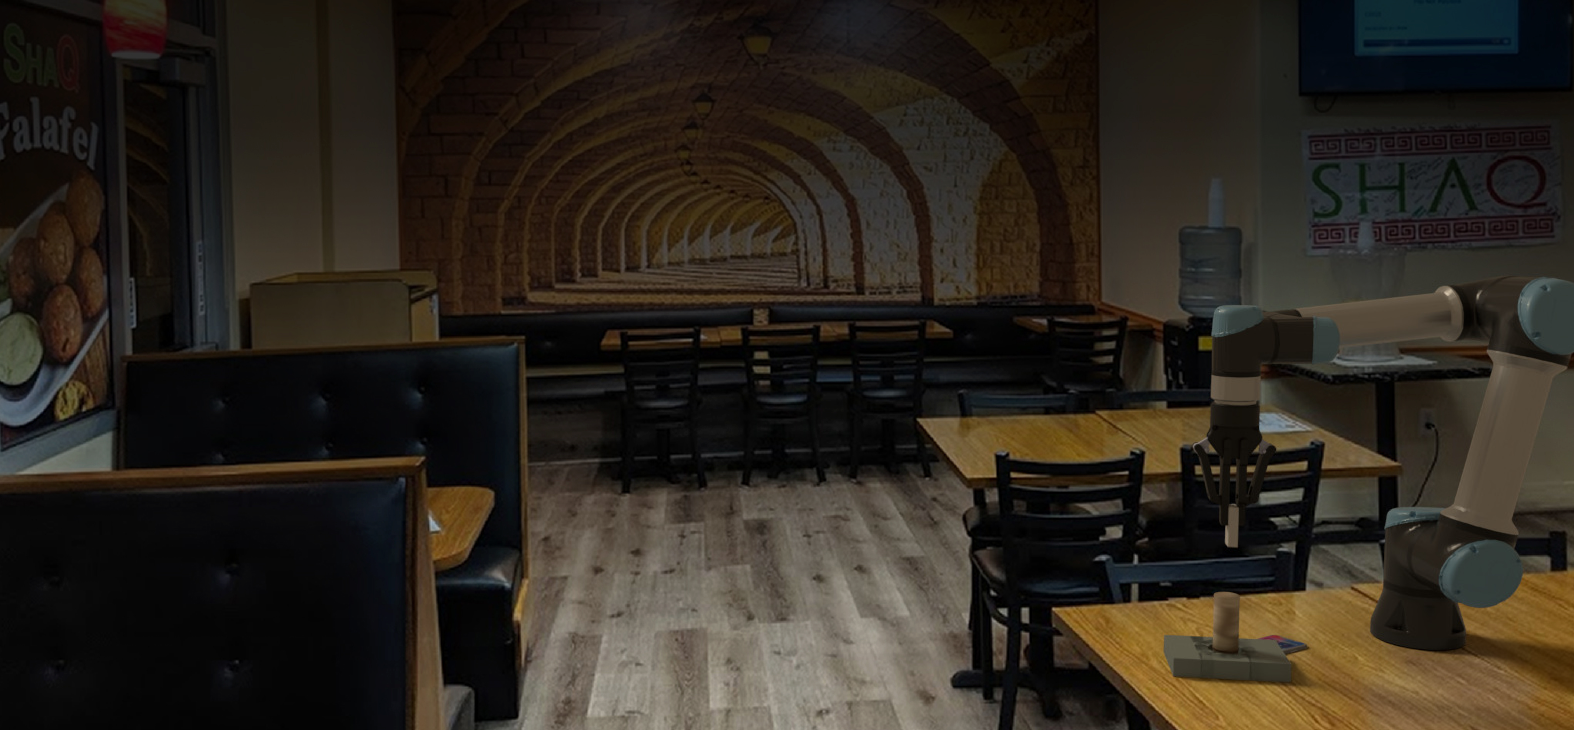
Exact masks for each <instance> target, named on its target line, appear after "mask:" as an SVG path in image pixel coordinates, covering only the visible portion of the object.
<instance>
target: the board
mask: <svg viewBox="0 0 1574 730" xmlns="http://www.w3.org/2000/svg"><path fill="white" fill-rule="evenodd" d="M1212 645H1213V636H1197V635H1194V636H1193V635H1178V634H1173V635H1172V634H1163V654H1164V657H1165V659H1166V662H1167V664H1168V668H1170V672H1171V674H1172V676H1173V677H1178V678H1179V677H1181V678H1182V677H1183V678H1200V679H1201V678H1202V679H1218V680H1219V679H1220V680H1221V679H1222V680H1240V681H1259V682H1275V683H1276V682H1279V683H1291V681H1292V662H1291V661H1290V659H1289V658H1288V656H1287V654H1284V652H1283V651H1282V649H1281V648H1280V646H1279V645H1278V643H1277V642H1276V640H1266V639H1258V638H1243V637H1239V651H1238V654H1234V655H1231V654H1221V653H1216V652H1213V648H1212Z"/></svg>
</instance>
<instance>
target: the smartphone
mask: <svg viewBox="0 0 1574 730" xmlns="http://www.w3.org/2000/svg"><path fill="white" fill-rule="evenodd" d="M1257 639H1266V640H1276V642H1277V643H1278V645H1279V646H1280V648H1281V649H1282V651H1283V652H1284V654H1285V655H1288V654H1291V653H1296V652H1300V651H1304V650H1306V649H1307V648H1308V644H1307V643H1305V642H1302V641H1298V640H1295V639H1291V638H1289V637H1286V636H1282V635H1277V634H1269V635H1266V636H1263V637H1259V638H1257Z"/></svg>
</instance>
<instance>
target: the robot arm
mask: <svg viewBox="0 0 1574 730" xmlns="http://www.w3.org/2000/svg"><path fill="white" fill-rule="evenodd" d="M1211 328H1212V329H1211V378H1210V379H1211V383H1210V398H1211V399H1212V400H1214V401H1212V402H1211V403H1210V408H1209V409H1210V412H1209V415H1210V416H1209V417H1210V418H1209V429H1208V431H1207V433H1206V437H1205V438H1203V439H1201V440H1200V441H1198V442H1192V445H1191V446H1192V449H1193V450H1194V452H1195V453H1196V454H1197V456H1198V459H1199V464H1200V467H1201V472H1202V477H1203V481H1204V485H1205V490H1206V491H1205V492H1206V494H1207V498H1208V499H1209V500H1210V501H1211V503H1214V504H1216V505H1217V504H1218V505H1219V507H1218V508H1219V509H1218V511H1219V514H1218V517H1219V518H1218V519H1219V520H1218V521H1219V523H1220V525H1221V526H1225V531H1224V533H1225V534H1224V537H1225V538H1224V544H1225V545H1226V546H1227V548H1238V547H1239V546H1238V545H1239V543H1238V542H1239V527H1244V526H1245V524H1246V508H1247V506H1248V505H1251V504H1257V502H1258V501H1259V498H1260V494H1261V491H1262V487H1263V484H1264V481H1265V478H1266V477H1265V476H1266V474H1267V470H1268V466H1269V463H1270V460H1271V459H1272V458H1273V456H1274V455H1275V454H1276V452H1277V447H1276V446H1275V445H1274V444H1272V443H1270V442H1268V441H1266V440H1264V439H1263V434H1262V432H1261V430H1260V421H1261V420H1260V417H1261V415H1260V413H1261V412H1260V411H1261V405H1260V403H1257V401H1260V399H1261V385H1262V384H1261V381H1262V380H1261V378H1262V377H1261V376H1262V365H1273V364H1274V365H1278V364H1279V365H1280V364H1281V365H1311V366H1314V365H1316V364H1328V363H1331V362H1332V361H1334V360H1335V359H1336V357H1337V356H1338V353H1339V350H1340V348H1348V347H1358V346H1359V347H1361V346H1368V345H1376V344H1377V345H1378V344H1387V343H1396V342H1405V341H1413V340H1414V341H1415V340H1421V339H1422V340H1423V339H1433V338H1441V340H1443V341H1445V342H1451V343H1452V342H1459V341H1470V342H1471V341H1475V342H1483V343H1488V345H1487V348H1486V353H1487V355H1488V356H1489V358H1490V359H1491V361H1492V363H1493V366H1492V369H1491V372H1490V377H1489V380H1488V383H1487V386H1486V390H1485V394H1484V398H1483V399H1482V404H1481V408H1480V410H1479V411H1480V412H1479V415H1478V417H1477V418H1478V419H1477V421H1476V424H1475V425H1476V426H1475V429H1474V432H1473V436H1472V439H1471V443H1470V446H1469V449H1468V453H1467V456H1466V460H1465V463H1464V467H1463V470H1462V474H1461V477H1460V481H1459V485H1458V488H1457V491H1456V495H1455V498H1454V501H1453V503H1452V504H1451V505H1450V506H1449V507H1432V506H1431V507H1427V506H1402V507H1395V508H1394V507H1393V508H1392V509H1389V511H1388V512H1387V514H1386V520H1385V525H1384V552H1383V553H1384V555H1383V556H1384V558H1383V577H1382V578H1383V582H1382V591H1381V594H1380V595H1379V598H1378V601H1377V602H1376V605H1375V607H1374V609H1373V612H1372V614H1371V617H1370V621H1369V622H1370V623H1369V625H1370V626H1369V627H1370V628H1369V632H1370V633H1371V635H1372V636H1373V637H1375V638H1376V639H1379V640H1381V641H1384V642H1387V643H1389V644H1391V645H1392V644H1393V645H1397V646H1401V647H1406V648H1411V649H1416V650H1417V649H1418V650H1428V651H1429V650H1431V651H1445V650H1454V649H1459V648H1462V647H1464V646H1465V645H1466V643H1467V628H1466V625H1465V622H1464V619H1463V615H1462V611H1461V608H1460V605H1459V604H1462V605H1465V606H1466V607H1471V608H1476V609H1486V608H1491V607H1495V606H1497V605H1498V604H1500V603H1503V602H1505V601H1507V600H1509V598H1511V597H1512V596H1513V595H1514V594H1515V592H1516V591H1517V589H1518V588H1519V586H1520V585H1521V583H1522V580H1523V575H1524V565H1523V561H1522V560H1521V559H1520V555H1519V553H1518V552H1517V551H1516V550H1515V548H1516V544H1517V540H1518V538H1519V530H1518V529H1517V527H1516V526H1515V524H1514V522H1513V517H1514V512H1515V509H1516V506H1517V502H1518V500H1519V495H1520V491H1521V489H1522V485H1523V482H1524V479H1525V475H1526V471H1527V468H1528V465H1529V460H1530V458H1531V455H1532V451H1533V449H1534V448H1533V447H1534V444H1535V441H1536V437H1537V434H1538V431H1539V426H1540V422H1541V421H1542V420H1541V419H1542V418H1543V417H1542V416H1543V414H1544V410H1545V407H1546V402H1547V400H1548V396H1549V393H1550V389H1551V385H1552V383H1553V379H1554V377H1555V376H1557V375H1559V374H1560V373H1563V372H1564V371H1566V370H1567V369H1568V367H1569V364H1570V360H1571V356H1572V354H1573V353H1574V282H1571V281H1569V280H1565V279H1560V278H1559V279H1558V278H1556V277H1548V276H1541V277H1540V276H1538V277H1537V276H1518V275H1517V276H1516V275H1502V276H1495V277H1494V276H1493V277H1489V278H1484V279H1480V280H1479V279H1477V280H1474V281H1468V282H1463V283H1457V284H1456V283H1455V284H1449V285H1442V286H1439V287H1438V288H1437V289H1436V290H1435V291H1434V292H1431V293H1423V294H1422V293H1421V294H1414V295H1405V296H1396V297H1386V298H1379V299H1377V298H1376V299H1369V300H1362V301H1361V300H1360V301H1352V302H1343V303H1334V304H1326V305H1315V306H1307V307H1298V308H1292V309H1280V310H1273V311H1268V310H1265V309H1263V308H1262V307H1261V306H1258V305H1253V304H1252V305H1251V304H1249V305H1248V304H1246V305H1245V304H1243V305H1241V304H1230V305H1229V304H1225V305H1220V306H1218V307H1216V309H1214V312H1213V318H1212V326H1211ZM1210 446H1211V447H1212V449H1213V450H1214V451H1215V452H1216V454H1217V455H1218V456H1219V488H1218V489H1219V491H1217V489H1216V483H1215V480H1214V475H1213V471H1212V466H1211V462H1210V458H1209V456H1208V453H1210V448H1209V447H1210ZM1258 446H1259V447H1258ZM1257 448H1258V453H1259V455H1258V458H1257V460H1256V465H1255V468H1254V471H1253V475H1252V478H1251V482H1250V485H1249V488H1248V490H1247V487H1248V486H1247V480H1248V465H1249V458H1250V457H1251V455H1252V454H1253V452H1254V451H1255V450H1256V449H1257ZM1232 459H1235V462H1236V466H1235V467H1236V470H1235V471H1236V472H1235V473H1236V474H1235V503H1230V497H1231V495H1230V494H1231V490H1230V488H1231V465H1232ZM1247 491H1248V492H1247ZM1217 492H1219V493H1218V494H1217Z"/></svg>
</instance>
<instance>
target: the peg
mask: <svg viewBox="0 0 1574 730" xmlns="http://www.w3.org/2000/svg"><path fill="white" fill-rule="evenodd" d="M1240 599H1241V596H1240V595H1239V594H1238V593H1234V592H1230V591H1218V592H1215V593H1214V594H1213V614H1212V615H1213V618H1212V621H1213V622H1212V637H1213V645H1212V648H1213V652H1216V653H1221V654H1231V655H1234V654H1238V651H1239V638H1240V637H1239V636H1240V607H1241V605H1240V602H1241V601H1240Z"/></svg>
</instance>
